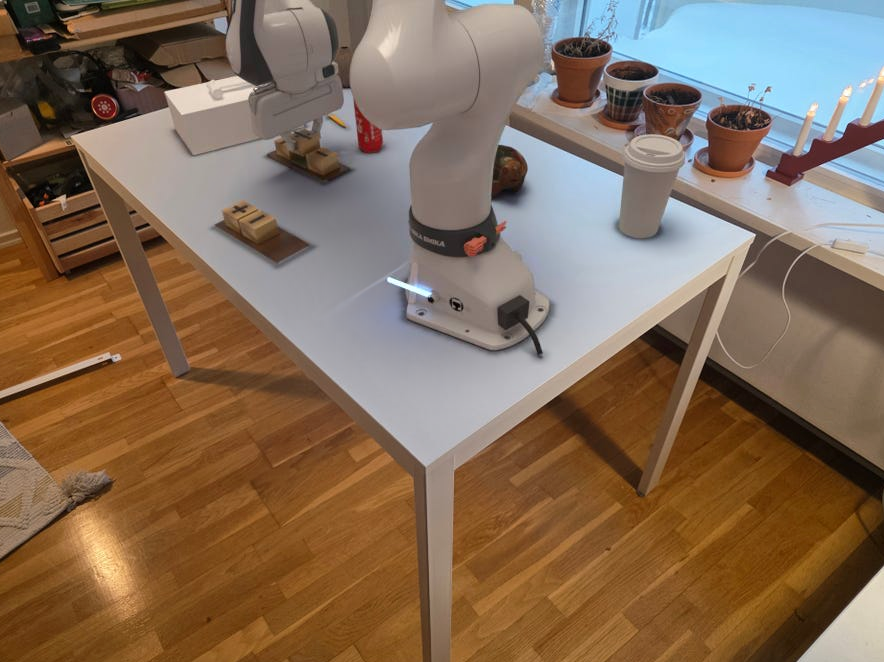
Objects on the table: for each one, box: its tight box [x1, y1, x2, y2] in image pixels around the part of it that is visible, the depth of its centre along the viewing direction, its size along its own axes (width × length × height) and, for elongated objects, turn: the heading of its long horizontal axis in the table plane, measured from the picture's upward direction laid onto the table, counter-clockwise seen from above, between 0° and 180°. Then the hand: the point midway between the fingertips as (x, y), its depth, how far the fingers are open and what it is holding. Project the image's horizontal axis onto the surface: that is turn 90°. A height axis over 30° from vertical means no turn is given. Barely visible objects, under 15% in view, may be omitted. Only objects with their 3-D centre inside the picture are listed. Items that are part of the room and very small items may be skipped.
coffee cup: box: [618, 133, 686, 239], centre depth 106 cm, size 10×10×15 cm
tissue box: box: [163, 75, 305, 156], centre depth 141 cm, size 14×25×11 cm, turn 120°
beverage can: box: [352, 98, 384, 154], centre depth 132 cm, size 5×5×12 cm
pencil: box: [326, 113, 347, 128], centre depth 145 cm, size 1×9×1 cm, turn 35°
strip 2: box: [266, 132, 351, 182], centre depth 131 cm, size 18×7×4 cm, turn 48°
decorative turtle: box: [491, 144, 529, 199], centre depth 120 cm, size 10×15×8 cm, turn 22°
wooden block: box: [289, 128, 322, 157], centre depth 129 cm, size 5×4×3 cm
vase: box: [333, 45, 354, 88], centre depth 159 cm, size 7×7×9 cm
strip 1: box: [214, 199, 311, 264], centre depth 111 cm, size 18×7×4 cm, turn 48°
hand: (304, 144), depth 129 cm, fingers closed on wooden block, 4 cm apart
